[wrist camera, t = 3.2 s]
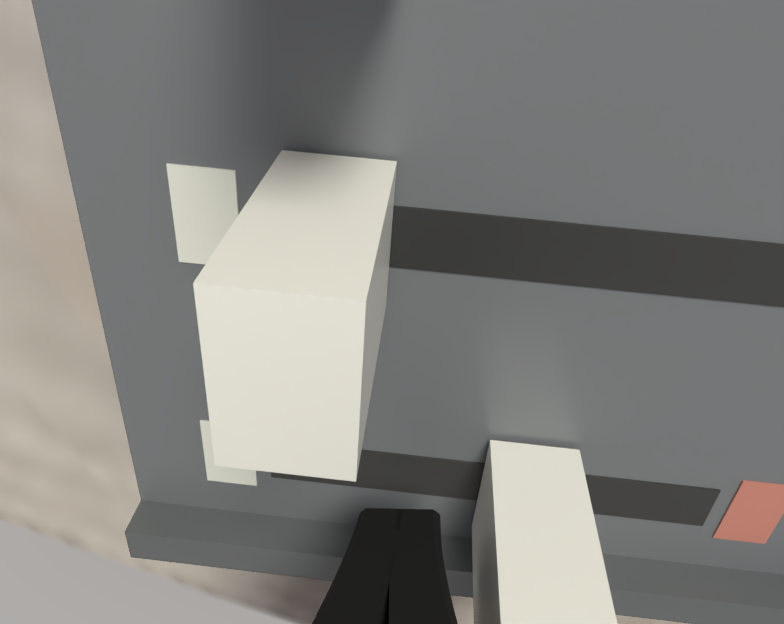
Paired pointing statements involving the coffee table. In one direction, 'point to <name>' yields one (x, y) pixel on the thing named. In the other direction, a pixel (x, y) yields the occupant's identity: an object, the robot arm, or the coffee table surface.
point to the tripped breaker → (537, 540)
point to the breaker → (298, 316)
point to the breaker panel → (462, 265)
